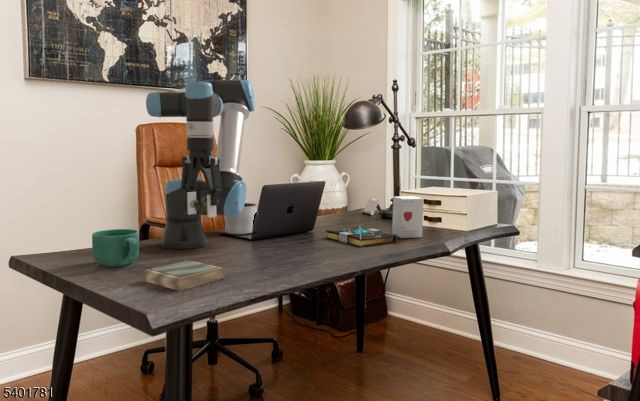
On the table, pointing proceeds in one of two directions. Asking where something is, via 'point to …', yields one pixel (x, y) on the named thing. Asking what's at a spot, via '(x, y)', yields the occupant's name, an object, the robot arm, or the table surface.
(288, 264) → the table surface
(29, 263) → the table surface
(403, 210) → the supplement box
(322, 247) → the table surface
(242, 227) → the planter
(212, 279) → the pedestal
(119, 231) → the mug
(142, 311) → the table surface
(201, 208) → the brown animal figurine
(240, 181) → the robot arm
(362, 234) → the book
